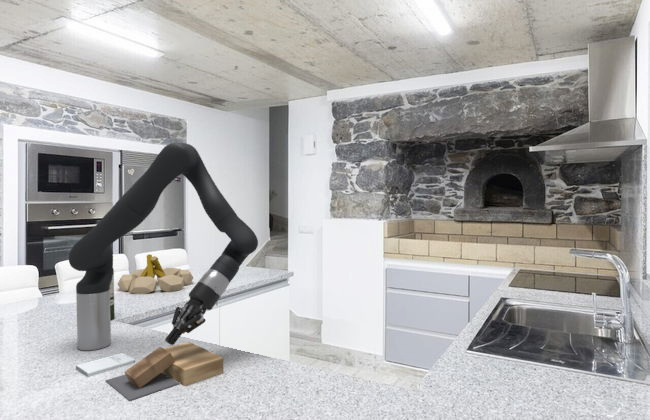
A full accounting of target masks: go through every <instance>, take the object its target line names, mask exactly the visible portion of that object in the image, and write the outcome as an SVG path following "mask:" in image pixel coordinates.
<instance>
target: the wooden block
mask: <svg viewBox="0 0 650 420" xmlns="http://www.w3.org/2000/svg"><path fill="white" fill-rule="evenodd" d="M163 349H165V350H167V351H169V352H170V353H171V355H172V357H173V359H174V361H175V362H174V363H173V364H172V365H170V366H169V367H168V368H166V369H165V370H164V371H162V373H164V374H165V375H167V376H168V377H170V378H172V379H173V380H175V381H176V382H178V383H179V384H180V385H182V386H184V387H186V386H189V385H192V384H195V383H198V382H201V381H204V380H206V379H208V378H213V377H215V376H218V375H220V374H223V373H224V357H222V356H221V355H218V354H216V353H214V352H212V351H209V350H208V349H206V348H204V347H201V346H199V345H197V344H194V343H193V342H191V341H186V342H182V343H179V344H176V345H175V344H174V345H171V346H168V347H164V348H163Z"/></svg>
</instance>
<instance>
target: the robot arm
mask: <svg viewBox="0 0 650 420" xmlns="http://www.w3.org/2000/svg"><path fill="white" fill-rule="evenodd" d="M155 157H156V158H155V159H154V160H153V161H152V163H151V164H150V165H149V167H148V168H147V170H146V171H145V172H144V173H143V174H142V175H141V176H140V177H139V178H138V179H137V180H136V181H135V182H134V183H133V184H132V185H131V187H130V188H128V190H126V191H125V192H124V193H123V195H122V196H121V197H120V198H119V199H118V200H117V201H116V202H115V204H114V205H113V206H112V207H111V208H110V209H109V210H108V211H107V212H106V213H105V214H104V216H103V217H102V218H101V219H100V221H99V222H98V223H97V224H96V225H95V226H93V228H92V229H90V230H89V231H88V232H87V233H86V234H85V235H84V236H82V238H80V239H79V240H78V241H77V242H76V243H74V245H73V246H72V247H71V248H70V251H69V253H68V263H69V265H70V267H71V268H73V269H74V270H76V271H78V272H85V273H84V276H83V277H82V278H81V279H80V280H79V281H78V282H77V284H76V286H75V292H76V293H75V294H76V295H75V297H76V298H75V300H76V301H75V302H76V328H77V329H76V335H77V336H76V337H77V338H76V339H77V343H76V344H77V349H78V350H80V351H95V350H101V349H103V348H106V347H108V346H110V345H111V343H112V338H111V337H112V333H111V331H112V329H111V326H112V325H111V324H112V323H111V321H112V320H111V321H110V283H111V281H112V276H113V269H114V255H113V254H114V253H113V248H112V244H113V243H114V242H116V241H117V240H119V239H120V238H122V237H123V236H125V235H127V234H129V233H130V232H131V231H133V230H134V229H136V228H137V227H138V226H139V225H141V224H142V222H144V221H145V220H146V218H147V217H149V215H150V214H151V213H152V212H153V210H155V208H156V206H157V204H158V202H159V199H160V197H161V194H162V193H163V192H164V190H165V189H166V188H167V187H168V186H169V185H170V184H171V183H172V182H174V180H175V179H176V178H177V177H179V176H181V175H183V176H184V177H185V178H186V179H187V180H188V182H190V184H191V185H192V187H193V188H194V190H195V191H196V193H197V196H198V198H199V201H200V203H201V205H202V207H203V210H204V211H205V214H206V215H207V216H208V218H209V219H210V220H211V222H212V223H213V225H214V226H215V227H216V229H217V230H218V231H219V232H221V233H224V234H225V235H226V236H227V237H228V238H229V239H230V241H229V243H228V244H227V245H226V247H225V248H224V250H223V251H222V253H221V255H220V256H218V258H217V259H216V260H215V261H214V262H213V264H212V265H211V266H210V268H209V269H208V270H207V271H206V272H204V274H203V275H202V276H201V278H200V279H199V280H198V281H197V283H196V284H195V286H193V288H192V289H191V290H190V292H189V293H188V297H189V300H188V301H187V302H186V303H185V304H184V306H182V307H180V306H177V307H175V310H174V313H173V318H172V320H171V325H172V330H170V332H169V334H168V335H167V336H166V337H165V339H164V341H165V342H166V343H167V344H169V345H170V346H175V344H176V343H177V342H178V340H179V339H180V337H181V336H182V334H185V333H187V334H189V333H191V332H193V331H194V330H195V329H197V328H198V327H200V326H201V325H203V324H204V323H205V322H206V320H207V319H205V318H204V315H205V314H206V312H207V311H211V310H212V309H213V308H214V307H215V305H216V304H217V302H218V301H219V300H220V299H221V297H222V295H223V294H224V293H225V292H226V291H227V288H228V286H229V285H230V283H231V282H232V280H233V279H234V278H235V277H236V276H237V274H238V272H239V270H240V267H241V265H242V264H243V262H244V261H245V260H246V259H247V257H248V256H249V255H251V254H252V253H254V252H255V251H256V250H257V248H258V245H259V240H258V237H257V235H256V234H255V232H254V230H253V229H252V228H251V227H250V226H249V225H247V223H245V221H244V220H243V219H241V218H240V217H239V216H238V214H237V213H236V212H235V210H234V208H233V207H232V206H231V205H230V203H229V202H228V200H227V199H226V198H225V196H224V195H223V194H222V192H221V191H220V190H219V188H218V186H217V185H216V183H215V181H214V180H213V178H212V176H211V174H210V173H209V171H208V169H207V167H206V165H205V163H204V161H203V160H202V157H201V155H200V154H199V151H198V150H197V149H196V147H194V146H193V145H191V144H189V143H186V142H171V143H168V144H167V145H166V146H164V147H163V148H162V149H161V151H160V152H159V153H158V154H157V156H155Z"/></svg>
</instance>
